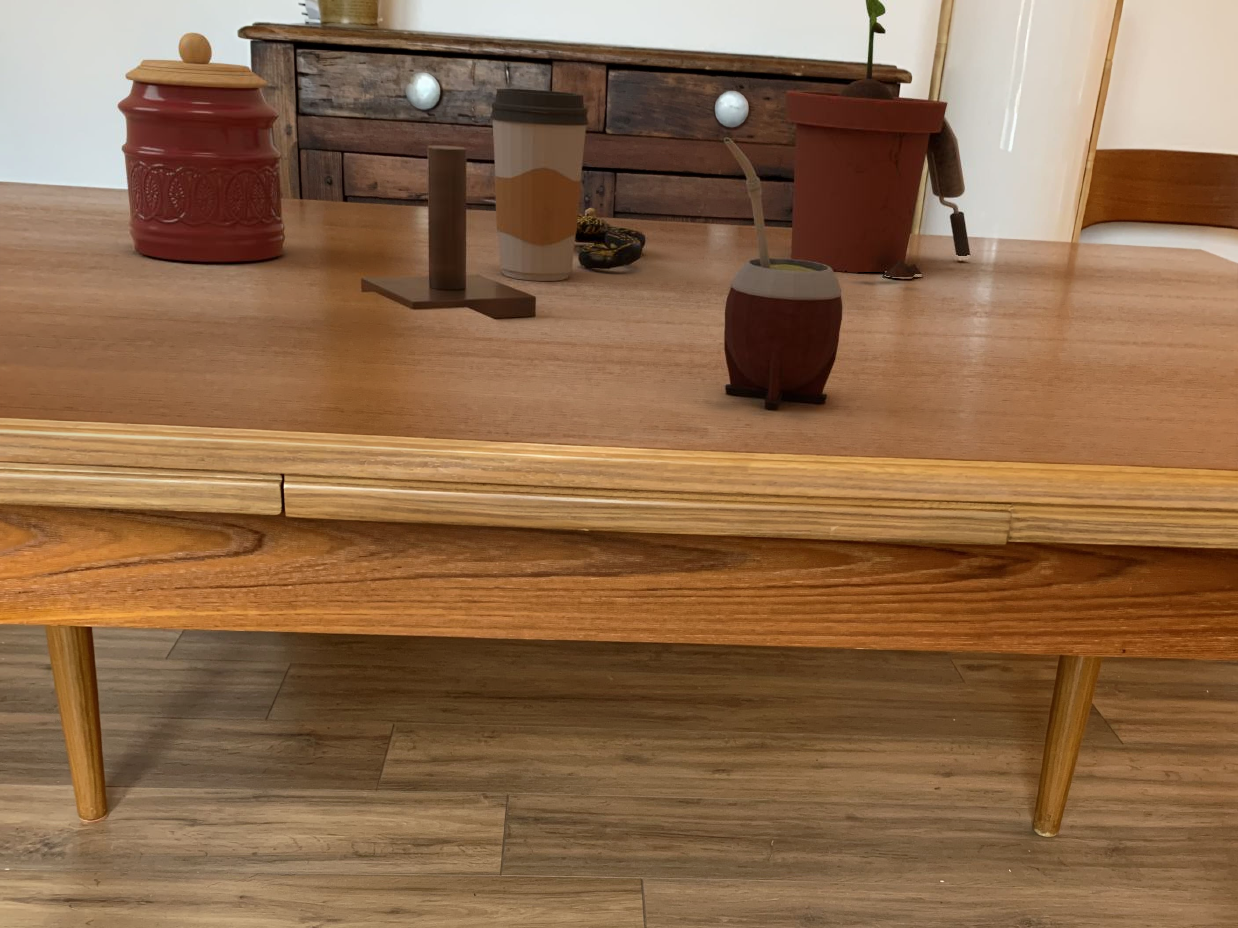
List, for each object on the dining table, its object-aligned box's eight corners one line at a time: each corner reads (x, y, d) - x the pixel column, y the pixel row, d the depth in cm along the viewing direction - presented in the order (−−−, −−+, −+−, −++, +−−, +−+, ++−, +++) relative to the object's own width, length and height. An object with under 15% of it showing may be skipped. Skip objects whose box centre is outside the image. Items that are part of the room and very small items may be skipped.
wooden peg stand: (412, 322, 97) (410, 153, 92) (361, 297, 104) (356, 139, 99) (536, 316, 102) (539, 155, 97) (478, 293, 109) (479, 142, 105)
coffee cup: (574, 268, 124) (581, 92, 118) (589, 284, 117) (597, 97, 110) (484, 265, 122) (485, 86, 116) (493, 281, 115) (495, 91, 108)
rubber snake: (636, 216, 120) (526, 217, 122) (637, 270, 122) (529, 270, 123) (660, 204, 137) (564, 204, 138) (661, 251, 139) (566, 251, 140)
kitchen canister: (184, 269, 111) (164, 32, 103) (102, 246, 118) (79, 24, 111) (315, 258, 120) (306, 40, 112) (232, 238, 127) (218, 32, 120)
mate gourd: (834, 390, 86) (864, 140, 80) (828, 420, 79) (860, 148, 73) (719, 379, 87) (739, 130, 81) (702, 407, 80) (723, 137, 73)
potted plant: (770, 246, 147) (793, -9, 137) (968, 260, 146) (1008, 6, 136) (770, 270, 131) (797, -17, 120) (993, 287, 130) (1040, 0, 120)
